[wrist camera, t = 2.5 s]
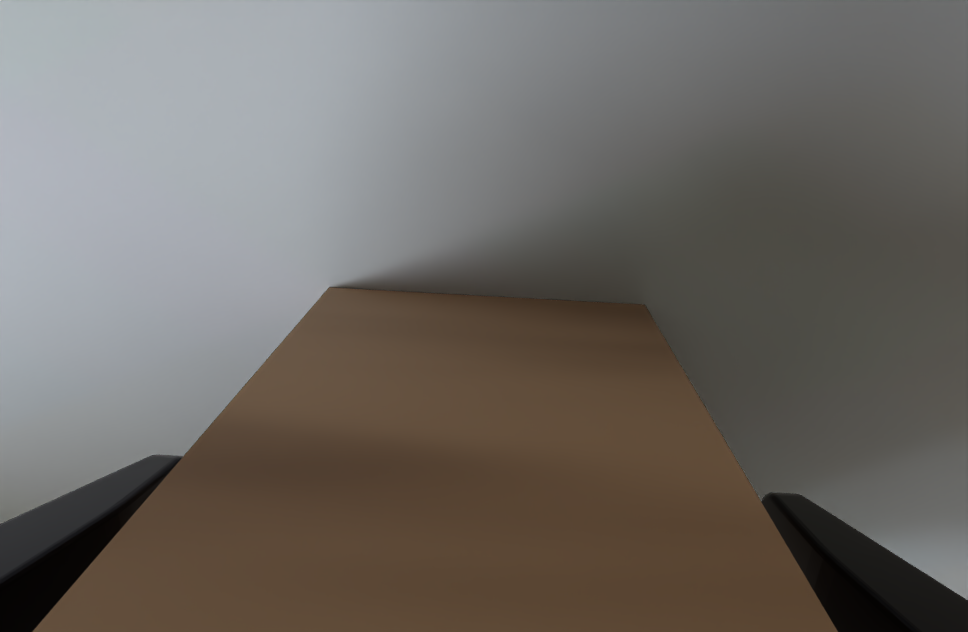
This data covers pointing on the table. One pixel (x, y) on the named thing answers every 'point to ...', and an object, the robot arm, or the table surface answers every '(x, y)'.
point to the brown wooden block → (453, 488)
